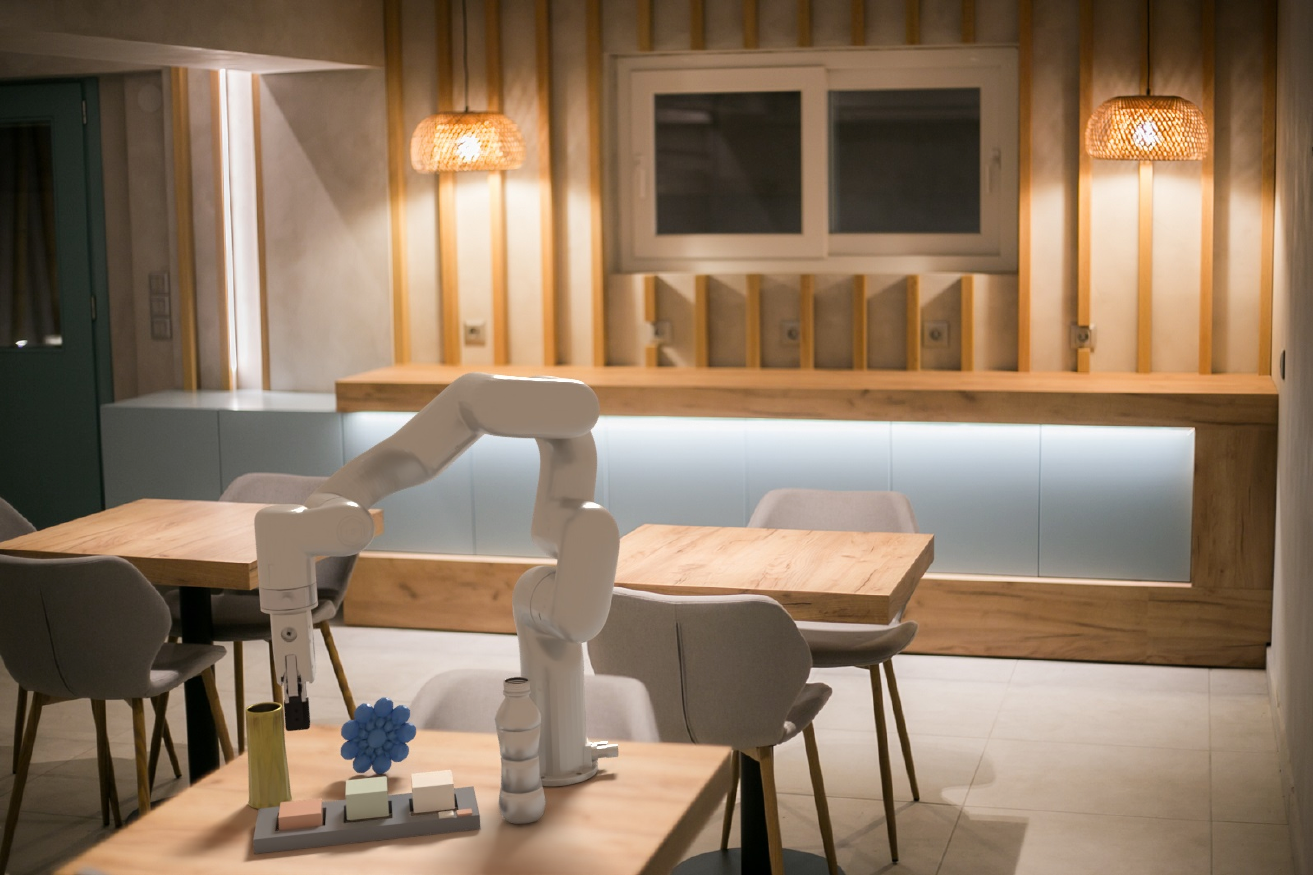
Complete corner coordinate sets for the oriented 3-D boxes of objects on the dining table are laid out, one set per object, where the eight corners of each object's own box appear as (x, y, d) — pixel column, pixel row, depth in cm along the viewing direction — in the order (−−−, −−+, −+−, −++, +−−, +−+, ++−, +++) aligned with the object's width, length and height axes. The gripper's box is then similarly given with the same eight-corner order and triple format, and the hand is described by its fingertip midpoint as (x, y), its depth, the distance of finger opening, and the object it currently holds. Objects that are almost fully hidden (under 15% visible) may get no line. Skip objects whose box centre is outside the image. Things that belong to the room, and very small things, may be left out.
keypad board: (474, 799, 208) (473, 784, 207) (480, 828, 197) (479, 812, 197) (259, 822, 202) (258, 806, 202) (254, 853, 191) (253, 837, 191)
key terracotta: (323, 822, 201) (321, 798, 201) (322, 838, 196) (320, 813, 195) (282, 827, 200) (280, 802, 199) (280, 843, 194) (278, 817, 194)
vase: (280, 811, 206) (273, 714, 204) (240, 809, 207) (234, 713, 205) (299, 795, 212) (292, 701, 210) (260, 793, 213) (254, 700, 211)
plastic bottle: (510, 833, 195) (503, 690, 193) (492, 816, 201) (485, 678, 199) (554, 823, 198) (547, 682, 196) (534, 807, 204) (528, 670, 202)
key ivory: (452, 794, 204) (451, 769, 204) (454, 808, 199) (453, 783, 198) (412, 798, 203) (411, 773, 203) (413, 813, 198) (412, 788, 197)
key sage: (388, 800, 202) (386, 776, 202) (388, 815, 197) (387, 790, 197) (347, 805, 201) (345, 780, 201) (347, 820, 196) (345, 795, 195)
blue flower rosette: (421, 762, 224) (417, 687, 222) (416, 778, 217) (412, 701, 216) (346, 765, 223) (342, 690, 222) (339, 781, 217) (334, 704, 215)
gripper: (315, 607, 187) (325, 743, 189) (318, 582, 201) (327, 709, 204) (255, 612, 185) (266, 749, 188) (263, 586, 200) (273, 714, 202)
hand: (298, 728), depth 196 cm, fingers closed
